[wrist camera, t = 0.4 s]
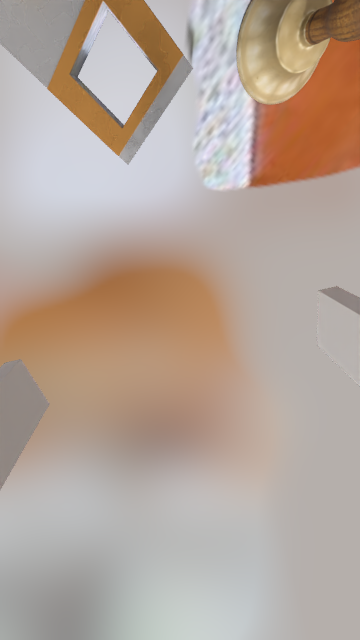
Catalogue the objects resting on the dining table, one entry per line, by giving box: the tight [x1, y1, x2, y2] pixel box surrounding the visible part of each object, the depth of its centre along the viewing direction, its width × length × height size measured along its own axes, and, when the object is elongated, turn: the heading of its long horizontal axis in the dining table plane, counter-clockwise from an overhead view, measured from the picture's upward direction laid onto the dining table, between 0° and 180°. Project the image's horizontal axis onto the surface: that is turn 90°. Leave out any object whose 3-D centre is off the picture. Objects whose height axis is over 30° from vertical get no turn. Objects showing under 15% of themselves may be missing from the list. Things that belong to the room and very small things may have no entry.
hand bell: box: [237, 0, 360, 105], centre depth 17 cm, size 8×8×16 cm
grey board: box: [0, 0, 193, 164], centre depth 20 cm, size 10×22×3 cm, turn 47°
